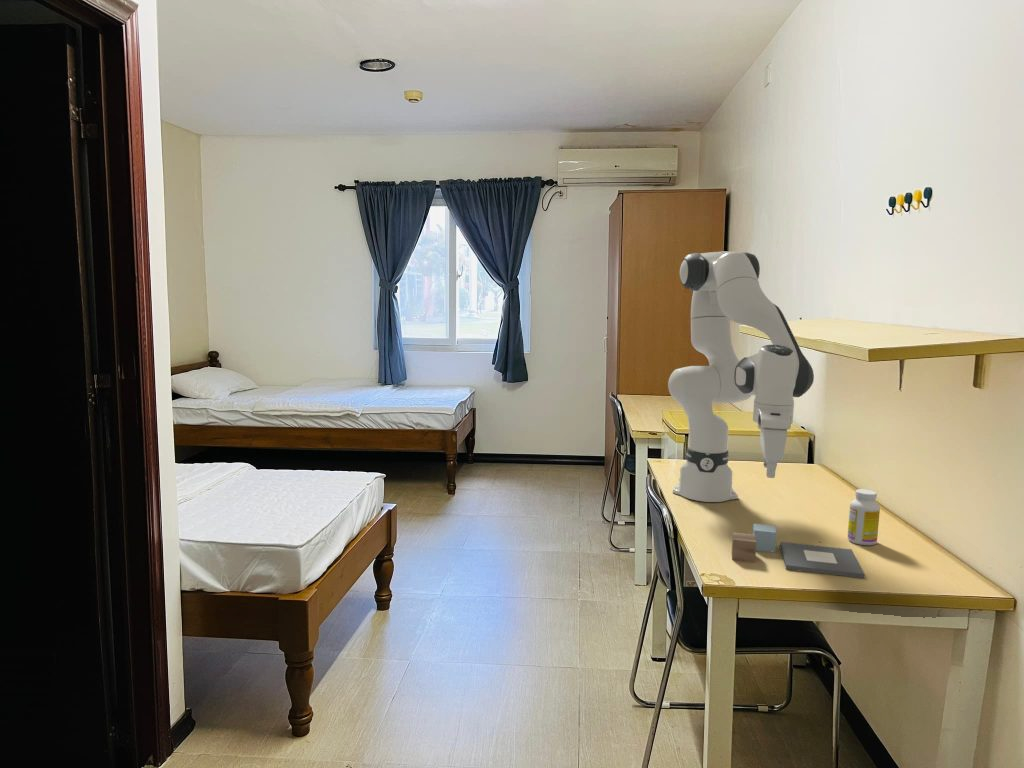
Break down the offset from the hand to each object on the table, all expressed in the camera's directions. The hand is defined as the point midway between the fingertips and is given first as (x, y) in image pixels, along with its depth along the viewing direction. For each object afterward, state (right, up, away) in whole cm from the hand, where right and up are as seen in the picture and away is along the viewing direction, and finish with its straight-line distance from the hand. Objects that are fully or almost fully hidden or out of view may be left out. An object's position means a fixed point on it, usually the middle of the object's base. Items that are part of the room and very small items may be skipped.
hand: (768, 472), depth 170 cm
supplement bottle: (+26, -19, +8) cm, 33 cm away
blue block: (0, -19, +3) cm, 19 cm away
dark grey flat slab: (+10, -20, -5) cm, 23 cm away
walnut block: (-7, -20, -3) cm, 21 cm away
